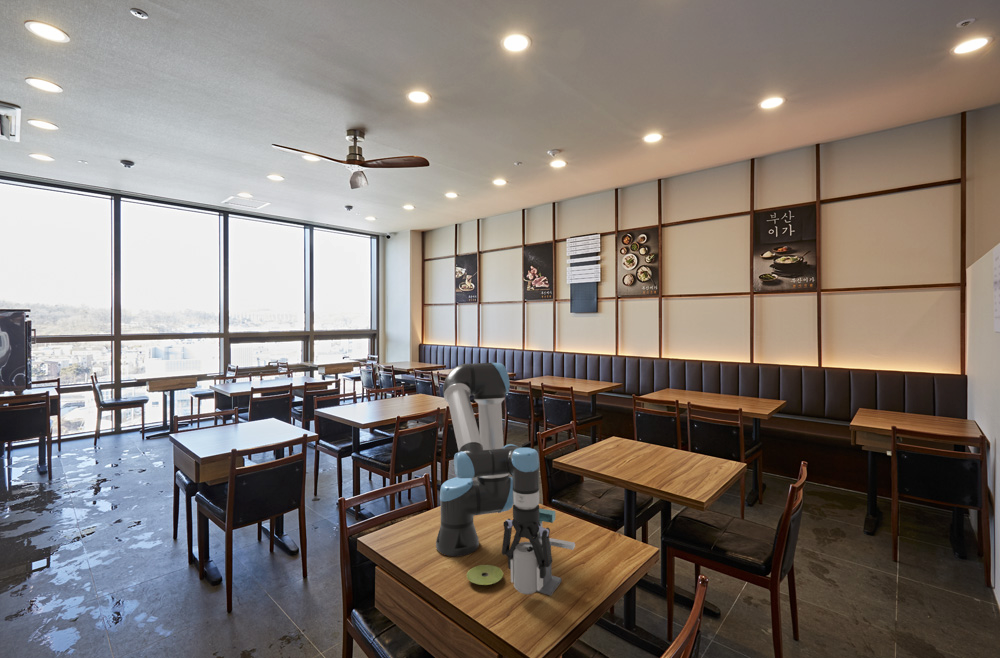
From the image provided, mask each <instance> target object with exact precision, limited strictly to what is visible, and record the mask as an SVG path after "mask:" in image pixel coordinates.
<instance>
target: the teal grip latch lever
mask: <svg viewBox="0 0 1000 658" xmlns="http://www.w3.org/2000/svg"><path fill="white" fill-rule="evenodd" d="M555 520H556V510H552V509H545V508H540V507H539V523H540V525H541V527H543V522H545V523H550V524H553V523H554V522H555ZM537 533H538V536H539V542H540V545H541V547H542V536H540V535H541V534H540V532H539V531H538V532H537ZM549 541H550V545H551V547H557V548H562V549H566V550H567V549H568V550H572V551H573V550H574V549H575V548H576V542H574V541H568V540H563V539H557V538H551V537H549Z"/></svg>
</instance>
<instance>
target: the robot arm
mask: <svg viewBox="0 0 1000 658" xmlns="http://www.w3.org/2000/svg"><path fill="white" fill-rule="evenodd" d="M510 384H511V383H510V376H509V373H508V370H507V368H506V367H505V365H504V364H503V363H501V362H480V363H476V362H475V363H462V364H459V365H457V366H455V367H454V368H452V370H450V372H449V373H448V374H447V375H446V378H445V379H444V383H443V386H442V393H443V397H444V400H445V402H447V403H448V404H447V405H448V408H449V412H450V417H451V422H452V427H453V431H454V437H455V440H456V441H455V442H456V444H457V450H458V452H456V453H455V454H454V457H453V466H454V467H453V469H454V473H455V477H453V478H450V479H448V480H445V481H444V482H443V483H442V484H441V486H440V491H439V493H440V494H439V501H440V502H439V503H440V506H439V507H440V526H439V530H438V532H437V533H438V534H437V536H436V541H435V549H436V548H437V549H436V551H437V550H438V551H439V552H441V553H442V554H441V553H440V554H441V555H443V554H445V555H444V556H446V555H448V556H447V557H462V556H463V557H464V556H467V555H469V554H472V553H474V552H475V551H477V550H478V548H479V546H480V544H479V543H480V542H479V540H480V538H479V536H478V534H477V530H476V526H475V524H474V517H475V516H480V515H490V514H501V513H502V512H503V513H504V512H508V511H509V510H511V509H512V519H510V518H507V519H506V520H505V521H504V522H503V525H502V526H503V528H504V529H503V530H504V531H503V539H502V548H501V554H502V555H503V556H506V557H507V561H508V562H507V568H508V569H509V570H510V582H511V583H512V584H514V556H513V552H514V550H515V549H516V545H517V544H519V543H521V539H523V538H525V539H527V540H528V542H530V543H531V544H532V547H533V550H534V552H535V555H536V558H537V561H538V564H539V565H538V566H537V590H538V591H540V589H541V588H542V587H543V578H544V577H545V576H546V567H549V566H550V564H551V565H552V564H553V556H552V555H553V554H552V547H551V548H550V541H549V538H550V532H551V529H550V528H549V527H546V528H545V527H543V526H542V527H541V525H540V523H539V508H540V505H539V504H540V484H539V483H540V474H539V473H540V458H539V452H538V451H537V450H536V449H534V448H531V447H519V445H516V444H513V443H509V444H505V445H504V432H503V431H504V429H503V414H502V413H503V412H502V411H503V410H502V403H503V401H504V400H505V399H506V394H508V393H510V387H511V385H510ZM471 396H473V400H474V401H475V403H477V405H478V422H479V423H477V420H476V416H475V413H474V410H473V406H472V405H473V404H472V403H471V399H470V397H471ZM478 426H479V427H478ZM510 475H511V476H510ZM473 478H477V480H474V479H473ZM513 528H514V530H515V533H514V536H513V540H512V543H511V539H512V531H513ZM538 531H539V532H540V534H541V535H540V536H542V547H543V550H542V547H541V545H540V542H539V536H538V533H537V532H538ZM438 551H437V552H438ZM439 552H438V553H439Z"/></svg>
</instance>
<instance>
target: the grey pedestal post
mask: <svg viewBox="0 0 1000 658" xmlns="http://www.w3.org/2000/svg"><path fill="white" fill-rule="evenodd" d="M550 548H551V549H552V546H551V545H550ZM542 550H543V547H542ZM561 583H562V577H559V576H555V575H552V563H551V564H550V566H549V567H546V576H545V577H544V578H543V587H542V588H541V589H540V591H538V590H537V591H536V592H537V593H541V594H543V595H547V596H553V593H555V591H556V590H557V588H558V587H559V586H560V584H561Z"/></svg>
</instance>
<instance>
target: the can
mask: <svg viewBox="0 0 1000 658" xmlns="http://www.w3.org/2000/svg"><path fill="white" fill-rule="evenodd" d="M513 556H514V582H513V587H514V589H515V590H517V592H518V593H520V594H522V595H532V594H534V593H536V592H537V566H538V565H539V564H538V561H537V558H536V555H535V552H534V550H533V547H532V544H531V543H530V541H523V542H522V541H520V542H519V544H517V545H516V549H515V550H514V552H513Z"/></svg>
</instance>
